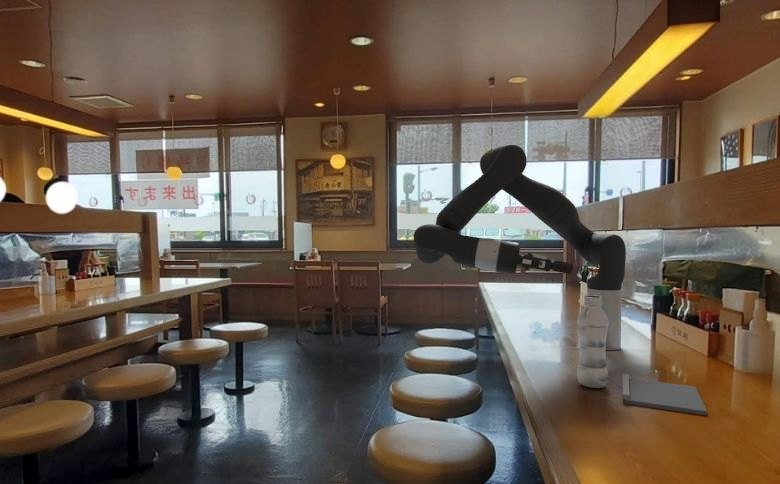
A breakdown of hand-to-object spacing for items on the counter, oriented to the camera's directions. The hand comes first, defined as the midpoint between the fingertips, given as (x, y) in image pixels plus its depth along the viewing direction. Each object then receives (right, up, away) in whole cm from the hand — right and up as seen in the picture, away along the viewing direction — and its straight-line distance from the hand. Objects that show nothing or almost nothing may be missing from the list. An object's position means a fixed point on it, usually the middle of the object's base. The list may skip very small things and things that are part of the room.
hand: (570, 268), depth 103 cm
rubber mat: (+16, -26, -7) cm, 31 cm away
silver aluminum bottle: (+5, -26, -1) cm, 27 cm away
